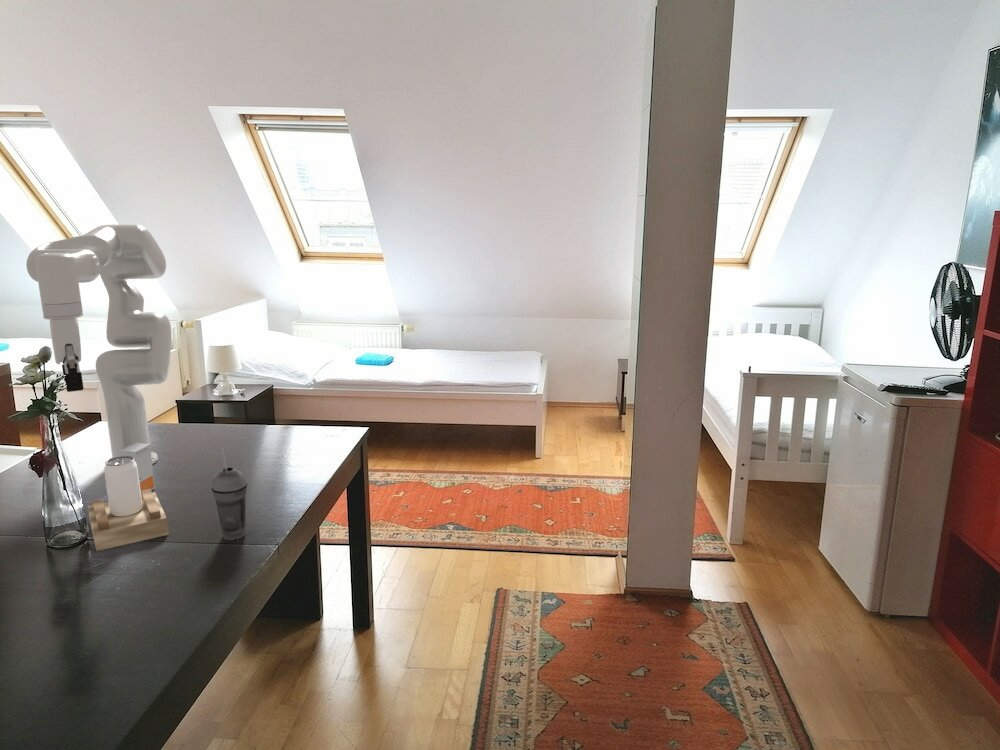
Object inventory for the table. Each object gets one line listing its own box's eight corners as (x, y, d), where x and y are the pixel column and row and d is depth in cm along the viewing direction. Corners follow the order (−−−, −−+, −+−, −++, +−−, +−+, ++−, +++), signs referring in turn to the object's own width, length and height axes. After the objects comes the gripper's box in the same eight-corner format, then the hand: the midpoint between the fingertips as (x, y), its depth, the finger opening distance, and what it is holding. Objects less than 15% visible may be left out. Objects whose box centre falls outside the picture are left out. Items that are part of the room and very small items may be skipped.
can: (110, 520, 158) (103, 467, 155) (110, 508, 163) (102, 458, 160) (143, 514, 161) (136, 462, 158) (142, 503, 166) (135, 453, 163)
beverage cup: (231, 546, 155) (222, 457, 150) (209, 537, 159) (200, 451, 154) (258, 533, 161) (251, 447, 156) (236, 525, 165) (229, 441, 160)
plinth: (89, 522, 166) (86, 499, 164) (157, 508, 173) (154, 486, 172) (96, 551, 153) (92, 527, 151) (168, 534, 160) (165, 511, 159)
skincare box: (140, 498, 178) (134, 452, 175) (124, 496, 179) (118, 450, 176) (156, 488, 184) (150, 443, 181) (141, 487, 185) (135, 442, 182)
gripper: (41, 306, 165) (52, 379, 169) (44, 317, 151) (56, 397, 155) (79, 303, 169) (89, 375, 173) (85, 314, 155) (96, 392, 159)
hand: (73, 385), depth 164 cm, fingers open, 9 cm apart
